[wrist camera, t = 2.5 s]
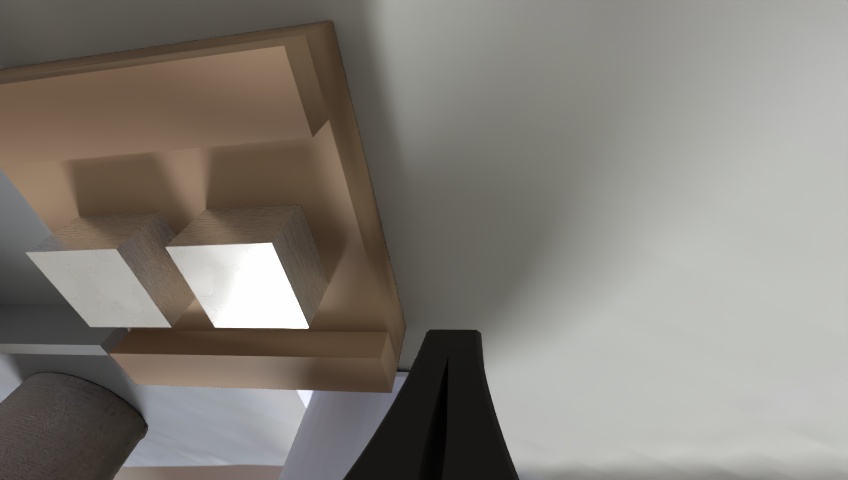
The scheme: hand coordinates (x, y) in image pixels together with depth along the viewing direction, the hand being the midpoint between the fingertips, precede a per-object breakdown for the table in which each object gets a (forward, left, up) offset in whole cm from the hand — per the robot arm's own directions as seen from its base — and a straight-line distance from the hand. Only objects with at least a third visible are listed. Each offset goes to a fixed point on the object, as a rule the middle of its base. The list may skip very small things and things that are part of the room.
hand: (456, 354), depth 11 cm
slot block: (0, +11, -8) cm, 13 cm away
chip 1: (0, +14, -5) cm, 15 cm away
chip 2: (0, +8, -5) cm, 10 cm away
